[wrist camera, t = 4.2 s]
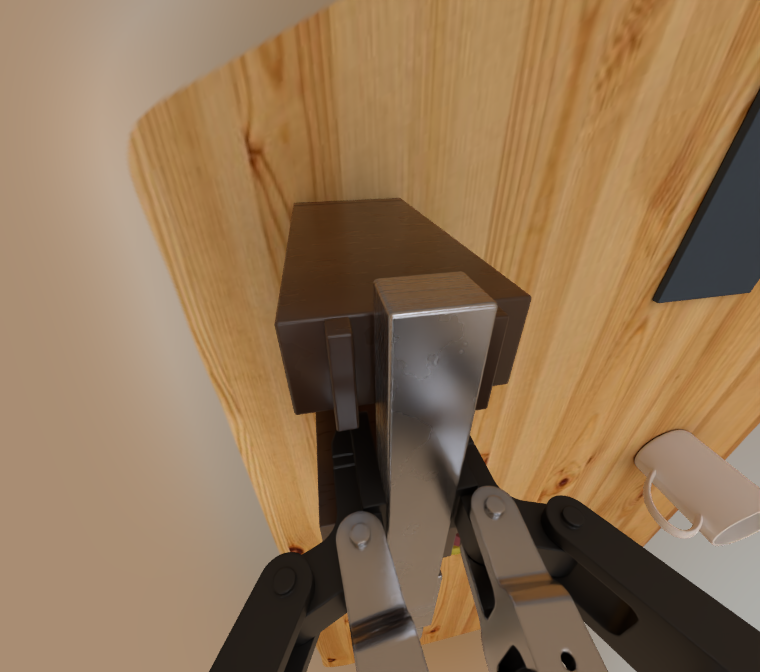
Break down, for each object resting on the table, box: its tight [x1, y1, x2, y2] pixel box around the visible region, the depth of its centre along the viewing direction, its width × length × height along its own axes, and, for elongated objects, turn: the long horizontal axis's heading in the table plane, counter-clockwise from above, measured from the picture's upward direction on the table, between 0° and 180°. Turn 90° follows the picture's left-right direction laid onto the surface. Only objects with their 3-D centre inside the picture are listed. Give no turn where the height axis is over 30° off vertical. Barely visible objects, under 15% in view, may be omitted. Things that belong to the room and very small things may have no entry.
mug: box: [635, 430, 760, 546], centre depth 39 cm, size 12×8×10 cm, turn 96°
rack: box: [275, 198, 531, 557], centre depth 16 cm, size 12×6×15 cm, turn 1°
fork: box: [373, 271, 498, 639], centre depth 12 cm, size 23×3×2 cm, turn 1°
